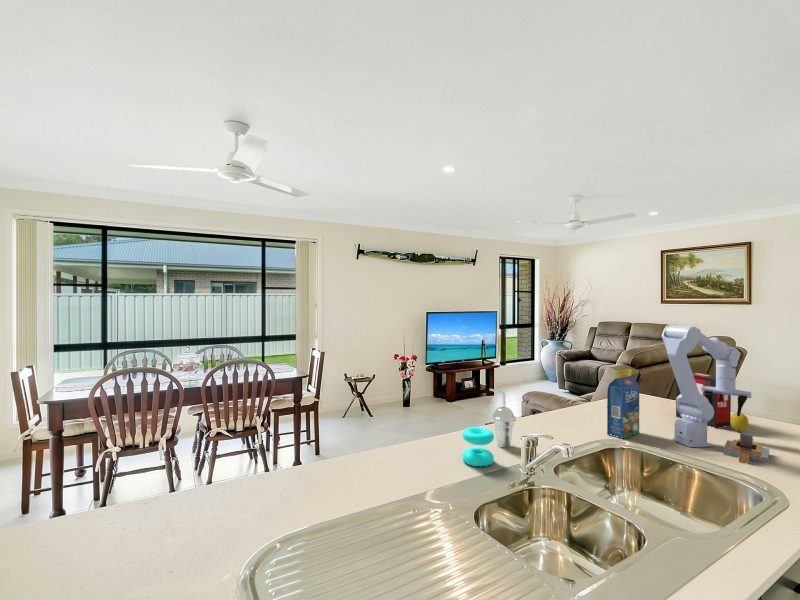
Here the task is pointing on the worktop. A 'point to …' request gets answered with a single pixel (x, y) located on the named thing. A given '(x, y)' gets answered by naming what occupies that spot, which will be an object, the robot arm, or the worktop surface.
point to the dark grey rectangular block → (746, 440)
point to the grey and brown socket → (746, 452)
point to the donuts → (477, 454)
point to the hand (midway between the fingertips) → (725, 413)
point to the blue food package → (623, 405)
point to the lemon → (739, 422)
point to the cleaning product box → (720, 401)
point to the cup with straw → (503, 423)
